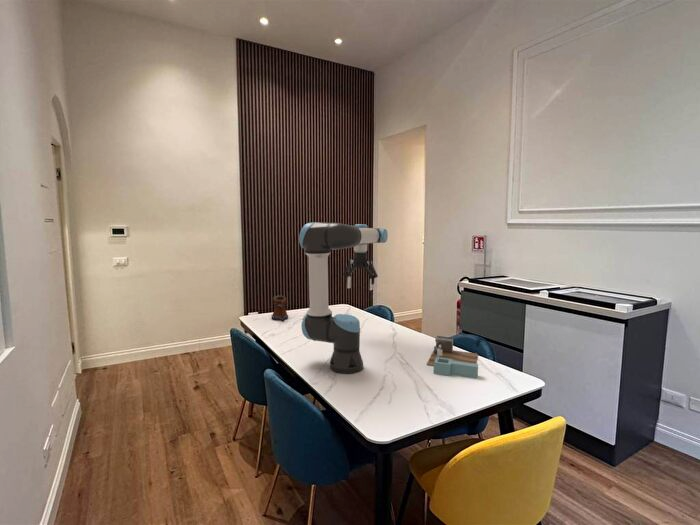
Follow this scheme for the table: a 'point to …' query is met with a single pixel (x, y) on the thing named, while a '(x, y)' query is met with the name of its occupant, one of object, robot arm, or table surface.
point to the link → (455, 368)
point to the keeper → (444, 344)
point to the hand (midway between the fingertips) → (359, 289)
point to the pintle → (439, 352)
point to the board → (455, 357)
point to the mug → (279, 308)
